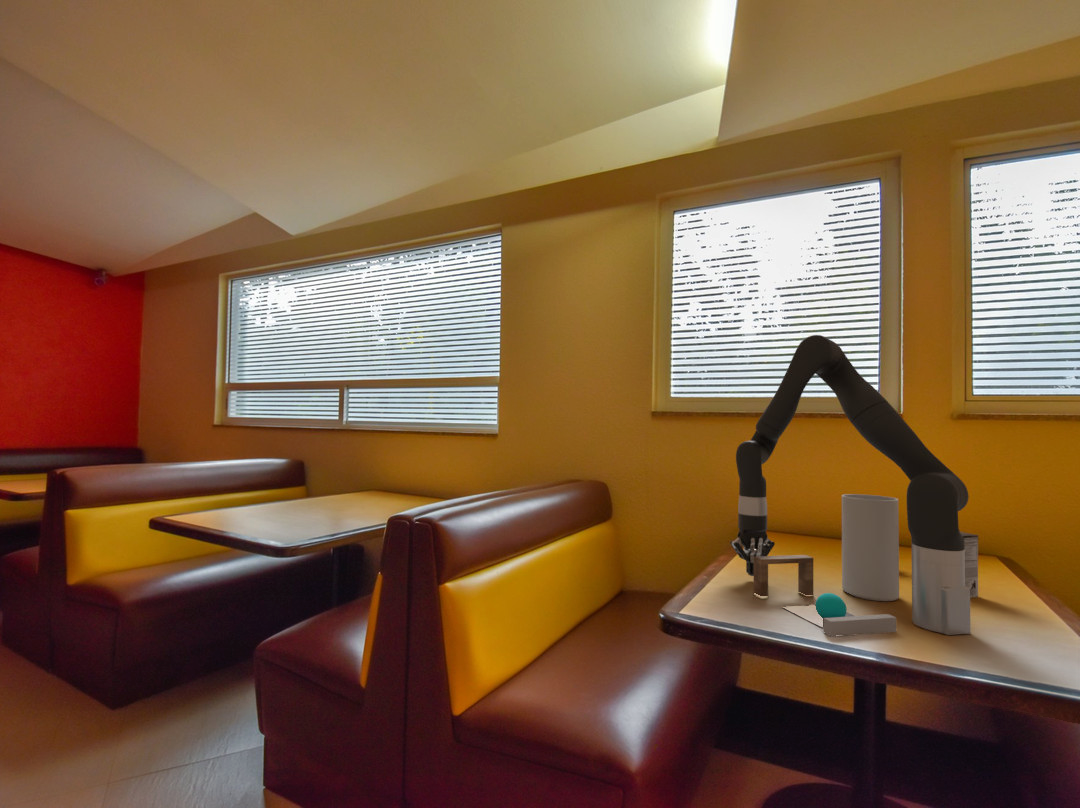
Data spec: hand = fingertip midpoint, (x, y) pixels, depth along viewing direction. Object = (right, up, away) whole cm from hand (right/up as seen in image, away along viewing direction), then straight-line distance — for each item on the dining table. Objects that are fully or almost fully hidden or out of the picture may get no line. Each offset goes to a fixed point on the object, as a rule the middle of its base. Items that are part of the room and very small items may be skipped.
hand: (752, 575), depth 145 cm
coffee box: (+50, -3, -7) cm, 51 cm away
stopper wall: (+8, 0, -36) cm, 37 cm away
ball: (+5, +3, -30) cm, 30 cm away
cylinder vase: (+27, -2, -10) cm, 28 cm away
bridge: (+3, -1, -13) cm, 13 cm away
